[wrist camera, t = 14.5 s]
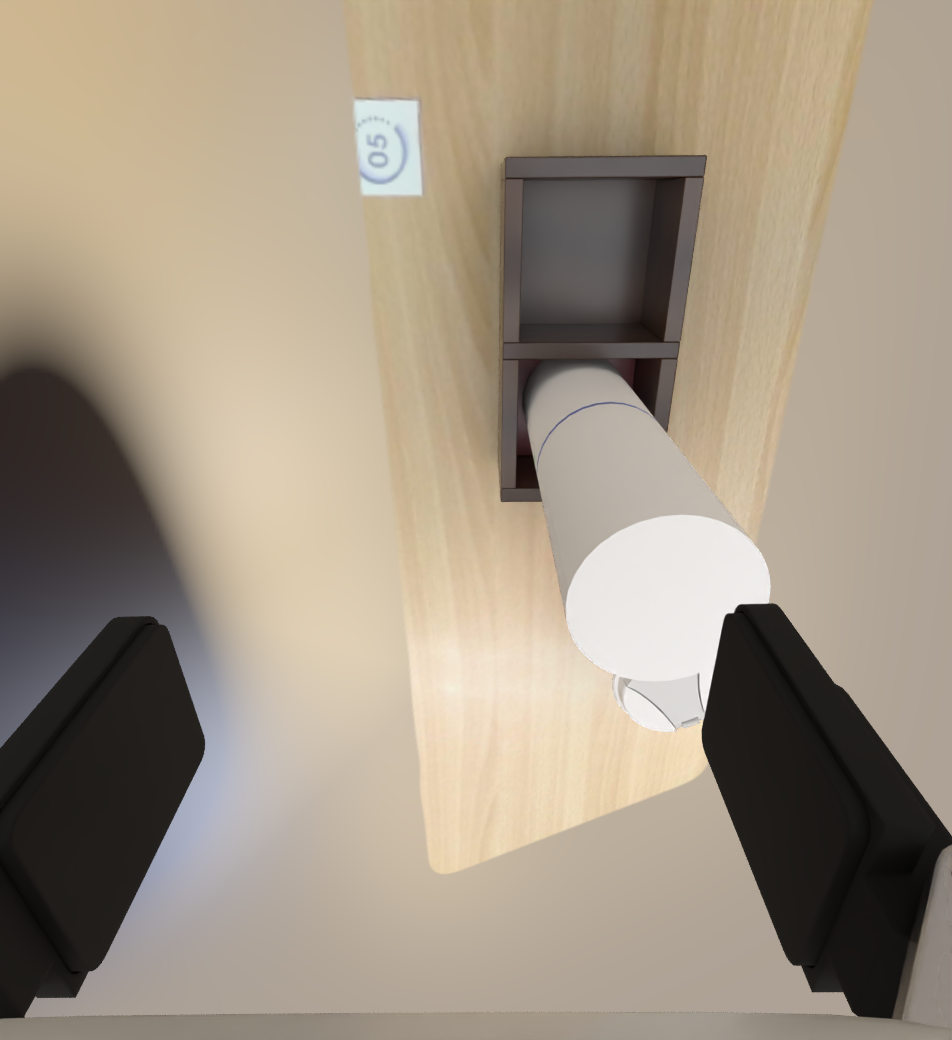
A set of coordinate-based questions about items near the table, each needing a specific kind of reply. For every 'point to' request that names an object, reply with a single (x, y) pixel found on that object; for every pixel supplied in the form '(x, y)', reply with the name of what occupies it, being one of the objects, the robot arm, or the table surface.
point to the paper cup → (664, 700)
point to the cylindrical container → (633, 527)
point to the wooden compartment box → (591, 280)
